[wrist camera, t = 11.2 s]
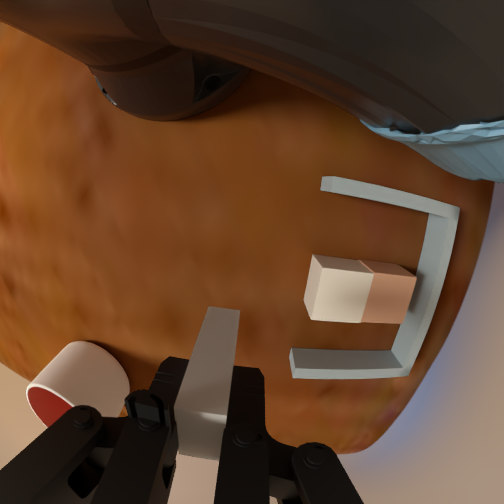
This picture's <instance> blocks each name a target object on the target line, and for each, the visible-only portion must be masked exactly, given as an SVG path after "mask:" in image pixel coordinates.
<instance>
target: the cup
mask: <svg viewBox="0 0 504 504" xmlns="http://www.w3.org/2000/svg"><path fill="white" fill-rule="evenodd" d="M129 392H130V385H129V380H128V377H127V375H126V373H125V371H124V369H123V368H122V366H121V365H120V363H119V362H118V361H117V360H116V359H115V358H114V357H113V356H112V355H111V354H110V353H108V352H107V351H106V350H104V349H103V348H101V347H99V346H97V345H95V344H93V343H90V342H86V341H75V342H72V343H70V344H68V345H67V346H66V347H65V348H64V349H63V350H62V351H61V352H60V353H59V354H58V355H57V356H56V357H55V358H54V359H53V360H52V361H51V362H50V363H49V364H48V365H47V366H46V367H45V368H44V369H43V370H42V371H41V372H40V373H39V375H38V376H37V377H36V378H35V379H34V380H33V381H32V382H31V383H30V384H29V385H28V387H27V389H26V395H27V399H28V402H29V404H30V406H31V408H32V410H33V411H34V413H35V414H36V416H37V417H38V418H39V419H40V420H41V422H42V423H43V424H44V425H45V426H46V427H47V428H48V427H50V426H51V425H52V424H53V423H54V422H55V421H56V420H57V419H59V418H60V417H61V416H62V415H63V414H64V413H65V412H67V411H68V410H69V409H71V408H72V407H74V406H78V405H89V406H91V407H94V408H96V409H97V410H98V411H99V412H100V413H101V416H102V417H118V416H119V414H120V412H121V410H122V408H123V406H124V404H125V401H124V399H125V398H126V397H127V395H128V394H129Z"/></svg>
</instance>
